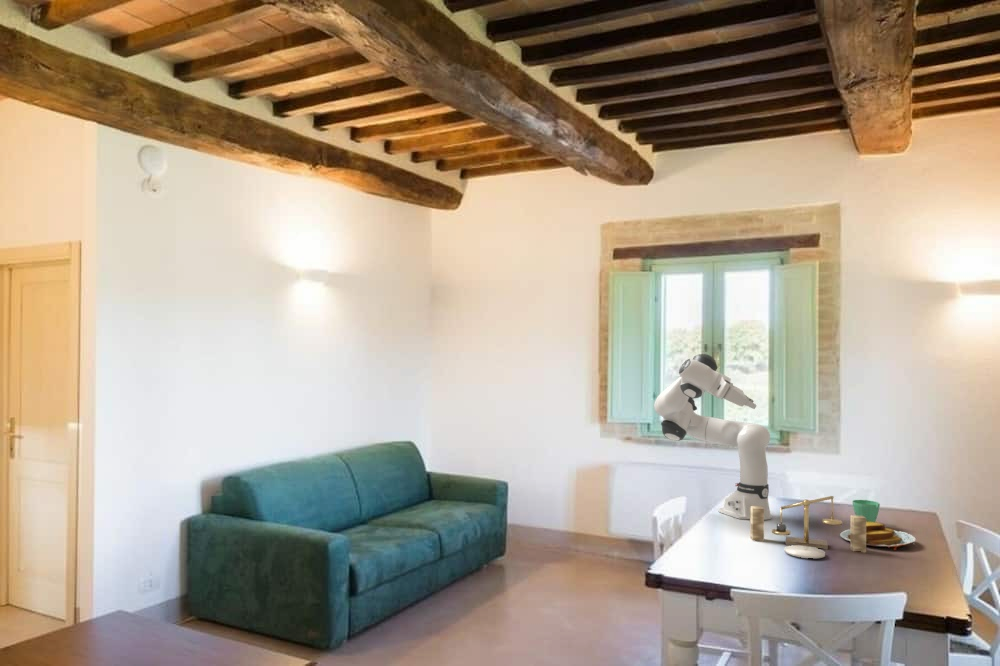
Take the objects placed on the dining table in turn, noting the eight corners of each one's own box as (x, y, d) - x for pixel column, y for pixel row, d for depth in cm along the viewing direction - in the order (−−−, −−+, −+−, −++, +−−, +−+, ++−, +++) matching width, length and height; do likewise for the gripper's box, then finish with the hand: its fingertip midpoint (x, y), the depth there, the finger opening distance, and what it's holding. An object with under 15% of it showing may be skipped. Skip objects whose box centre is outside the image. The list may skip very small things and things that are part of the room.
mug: (880, 531, 283) (879, 505, 283) (852, 528, 287) (852, 503, 287) (879, 523, 296) (879, 499, 296) (852, 520, 300) (852, 496, 301)
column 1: (752, 540, 266) (752, 508, 266) (750, 538, 270) (750, 506, 270) (763, 541, 265) (763, 508, 266) (761, 538, 269) (761, 506, 269)
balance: (771, 543, 262) (771, 492, 263) (772, 538, 269) (772, 489, 269) (842, 551, 253) (842, 498, 254) (841, 546, 259) (841, 495, 260)
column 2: (854, 551, 253) (854, 517, 253) (850, 548, 256) (850, 515, 257) (866, 552, 252) (866, 518, 252) (862, 549, 256) (862, 515, 256)
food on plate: (913, 556, 249) (913, 537, 249) (835, 545, 263) (835, 527, 263) (917, 540, 271) (917, 522, 271) (844, 530, 284) (844, 514, 284)
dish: (776, 552, 250) (776, 548, 250) (800, 547, 257) (800, 543, 257) (809, 562, 239) (809, 557, 239) (833, 557, 246) (833, 552, 246)
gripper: (714, 389, 282) (746, 406, 280) (718, 397, 262) (752, 417, 260) (723, 375, 281) (755, 393, 279) (727, 383, 261) (761, 402, 259)
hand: (754, 404), depth 269 cm, fingers open, 8 cm apart
